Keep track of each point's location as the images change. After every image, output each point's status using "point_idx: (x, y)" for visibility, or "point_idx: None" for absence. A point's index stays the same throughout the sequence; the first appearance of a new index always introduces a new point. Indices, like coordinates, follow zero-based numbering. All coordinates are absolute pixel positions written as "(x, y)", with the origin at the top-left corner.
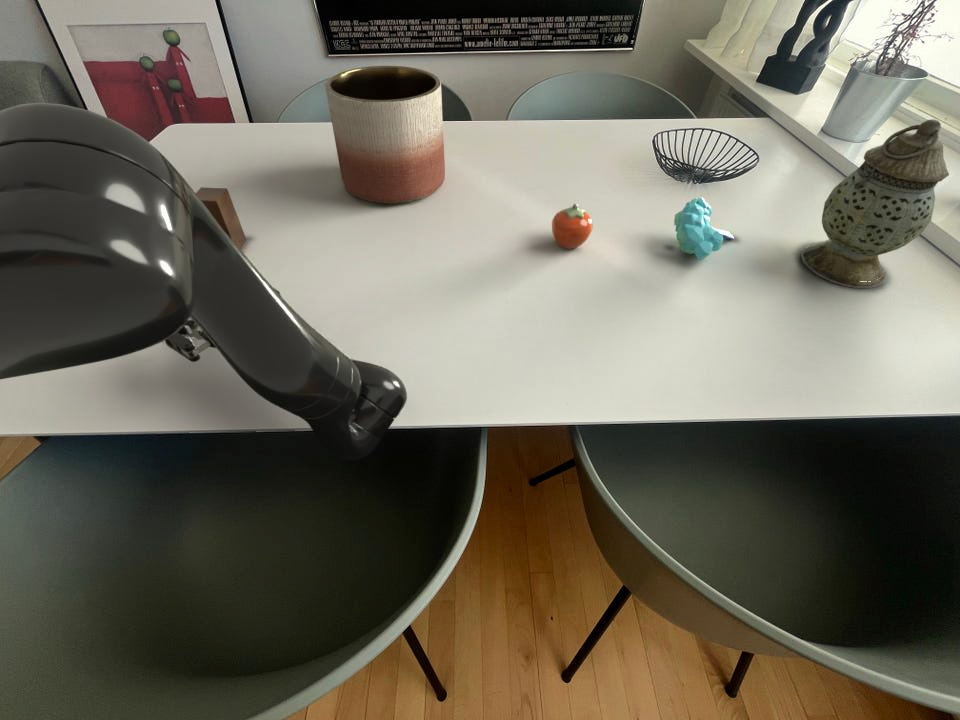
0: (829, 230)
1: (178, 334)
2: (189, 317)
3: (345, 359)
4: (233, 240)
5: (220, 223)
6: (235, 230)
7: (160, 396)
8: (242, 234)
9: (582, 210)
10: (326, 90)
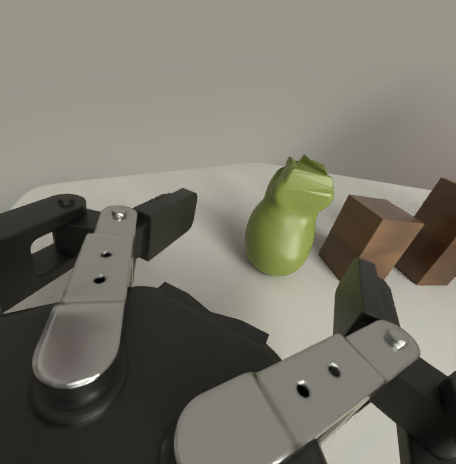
0: None
1: (4, 234)
2: (107, 234)
3: None
4: (433, 267)
5: (446, 233)
6: (452, 261)
7: (24, 309)
8: (452, 275)
9: None
10: None
